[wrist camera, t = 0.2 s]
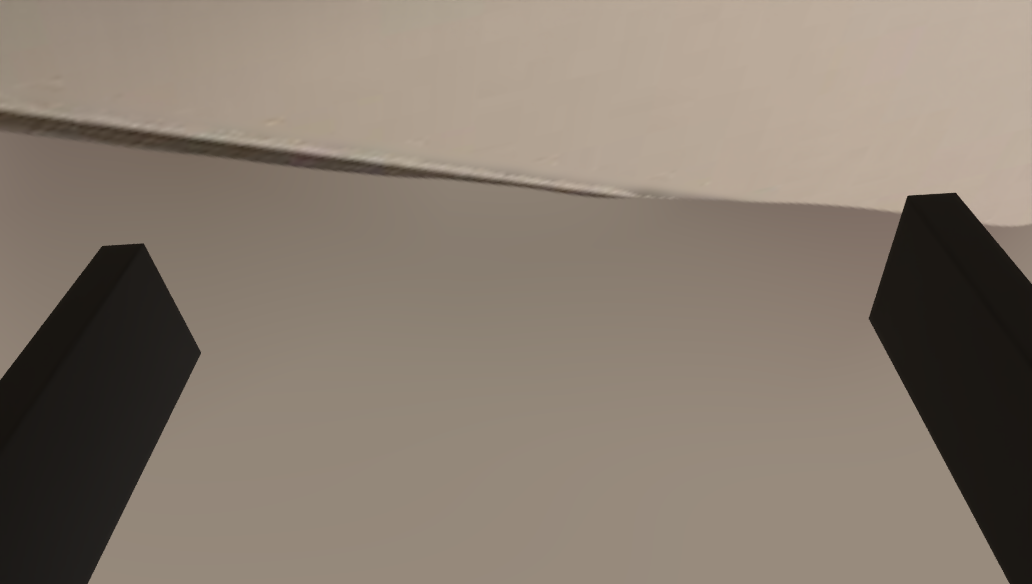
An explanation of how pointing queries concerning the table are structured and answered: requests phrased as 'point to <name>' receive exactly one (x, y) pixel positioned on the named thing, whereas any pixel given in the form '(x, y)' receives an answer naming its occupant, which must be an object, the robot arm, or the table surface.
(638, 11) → the table surface
